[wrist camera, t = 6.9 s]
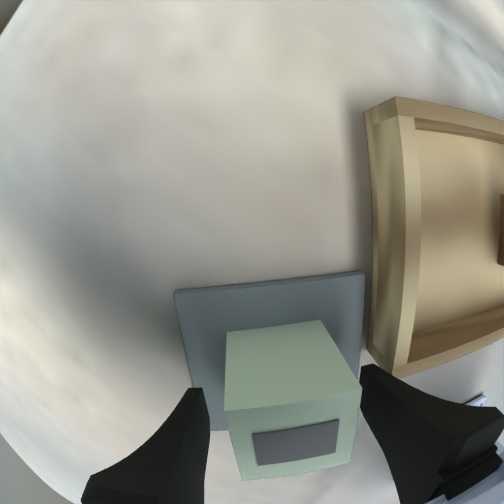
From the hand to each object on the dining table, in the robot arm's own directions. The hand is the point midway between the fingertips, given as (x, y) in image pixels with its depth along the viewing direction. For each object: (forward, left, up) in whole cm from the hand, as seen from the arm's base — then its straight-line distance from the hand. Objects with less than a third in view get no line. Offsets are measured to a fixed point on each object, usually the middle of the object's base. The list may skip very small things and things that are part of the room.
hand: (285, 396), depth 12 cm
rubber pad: (0, 0, -3) cm, 3 cm away
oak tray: (+6, -13, -3) cm, 15 cm away
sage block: (0, 0, -2) cm, 2 cm away
